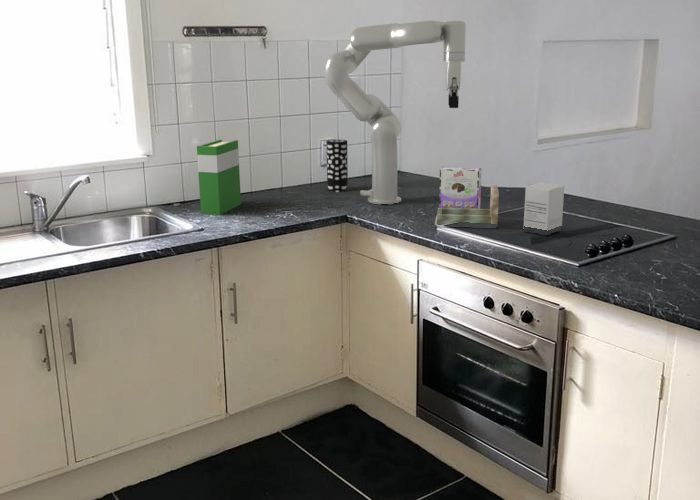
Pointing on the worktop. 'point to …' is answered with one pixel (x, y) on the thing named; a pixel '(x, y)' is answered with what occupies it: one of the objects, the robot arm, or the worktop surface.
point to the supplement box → (543, 206)
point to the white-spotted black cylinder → (337, 166)
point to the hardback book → (218, 176)
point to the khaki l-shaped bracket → (471, 212)
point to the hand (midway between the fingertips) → (453, 106)
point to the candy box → (460, 187)
